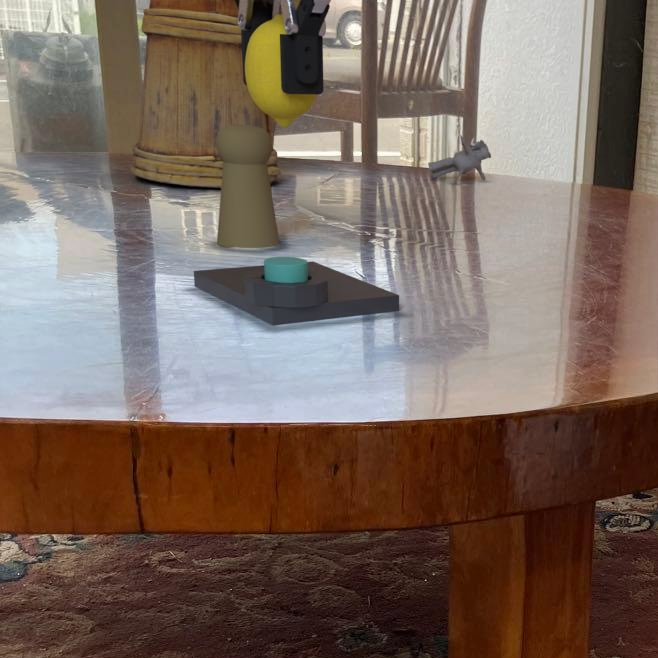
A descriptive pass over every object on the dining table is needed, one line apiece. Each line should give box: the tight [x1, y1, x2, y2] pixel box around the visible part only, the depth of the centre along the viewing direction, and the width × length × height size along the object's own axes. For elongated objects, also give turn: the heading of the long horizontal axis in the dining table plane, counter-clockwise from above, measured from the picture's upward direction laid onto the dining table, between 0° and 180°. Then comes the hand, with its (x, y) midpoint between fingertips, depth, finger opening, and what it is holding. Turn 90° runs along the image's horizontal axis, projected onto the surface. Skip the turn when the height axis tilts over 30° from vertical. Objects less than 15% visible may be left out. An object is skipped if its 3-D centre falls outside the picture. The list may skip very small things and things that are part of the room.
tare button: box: [263, 256, 309, 283], centre depth 84 cm, size 3×3×2 cm
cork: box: [216, 125, 281, 249], centre depth 108 cm, size 6×6×11 cm
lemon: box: [245, 14, 318, 129], centre depth 85 cm, size 6×6×8 cm
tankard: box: [130, 0, 300, 189], centre depth 142 cm, size 18×24×25 cm
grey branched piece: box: [427, 134, 492, 183], centre depth 161 cm, size 10×6×9 cm
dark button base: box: [193, 261, 400, 327], centre depth 89 cm, size 12×14×3 cm
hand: (282, 87), depth 85 cm, fingers closed on lemon, 5 cm apart
